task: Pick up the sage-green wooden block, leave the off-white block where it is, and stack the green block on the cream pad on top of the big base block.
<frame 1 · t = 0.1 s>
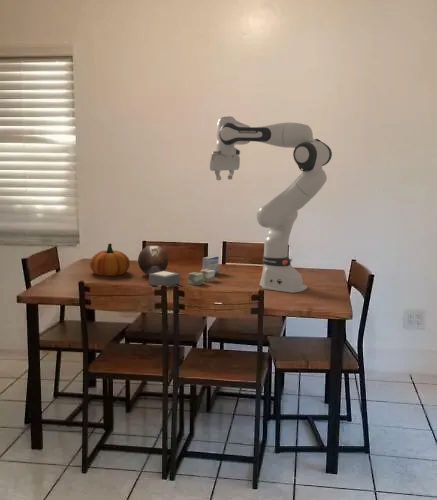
hand: (224, 179, 298), 48 cm above the table, tool pointing down, fingers open, 8 cm apart
base block: (164, 284, 286), on the table
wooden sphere: (153, 275, 304), on the table
off-white block: (207, 280, 296), on the table
pumpkin: (110, 274, 305), on the table
sage block: (195, 283, 289), on the table
medicine box: (210, 274, 311), on the table
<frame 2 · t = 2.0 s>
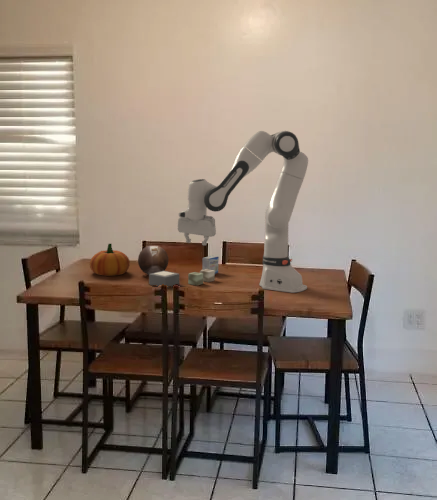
hand: (196, 243, 285), 19 cm above the table, tool pointing down, fingers open, 8 cm apart
nothing on the table moved.
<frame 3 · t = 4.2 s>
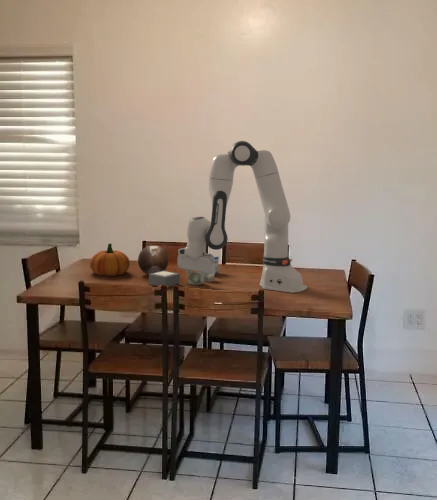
hand: (195, 280, 288), 2 cm above the table, tool pointing down, fingers closed on sage block, 5 cm apart
sage block: (195, 283, 289), on the table, touching gripper
everything else where it was.
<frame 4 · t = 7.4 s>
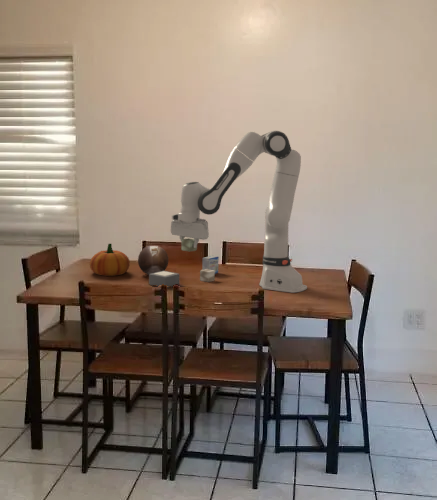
hand: (189, 246, 285), 18 cm above the table, tool pointing down, fingers closed on sage block, 5 cm apart
sage block: (189, 250, 285), point 16 cm above the table, touching gripper
everything else where it was.
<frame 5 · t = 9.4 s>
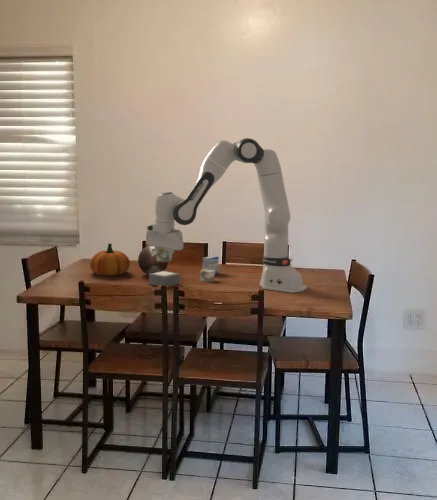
hand: (164, 257, 283), 13 cm above the table, tool pointing down, fingers closed on sage block, 5 cm apart
sage block: (164, 260, 284), point 11 cm above the table, touching gripper
everything else where it was.
when the fingers open (8 cm above the table, at t = 10.8 s): sage block drops 1 cm, resting on base block.
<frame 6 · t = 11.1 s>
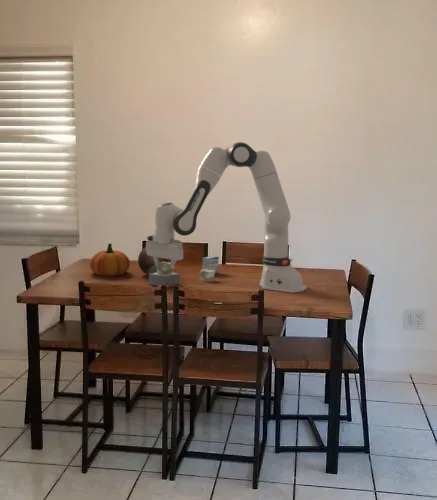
hand: (164, 267, 284), 8 cm above the table, tool pointing down, fingers open, 7 cm apart
sage block: (164, 273, 285), point 5 cm above the table, touching base block
everything else where it was.
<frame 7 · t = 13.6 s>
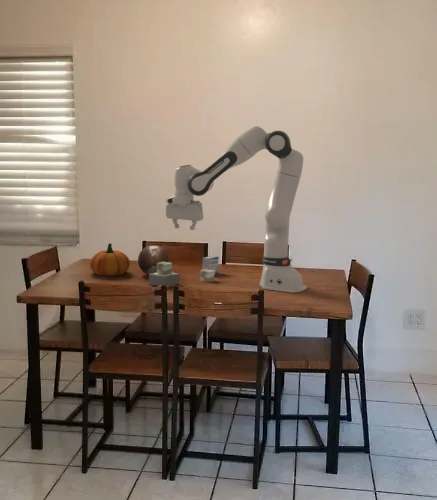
hand: (184, 229, 290), 25 cm above the table, tool pointing down, fingers open, 8 cm apart
nothing on the table moved.
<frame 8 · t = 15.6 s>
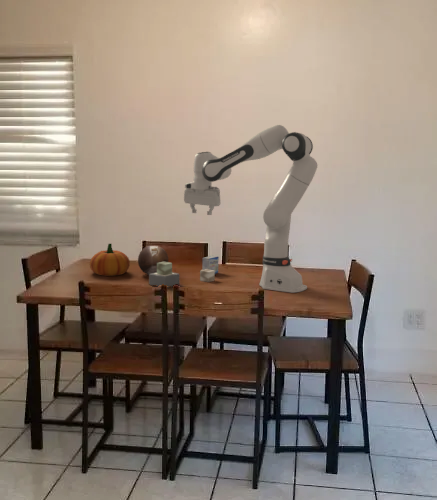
hand: (201, 214, 299), 31 cm above the table, tool pointing down, fingers open, 8 cm apart
nothing on the table moved.
at the end: sage block inside the target area on the base block (0.0 cm from its centre), point 5.2 cm above the base block's base; sage block tilted 0°; off-white block moved 0.1 cm from its start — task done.
